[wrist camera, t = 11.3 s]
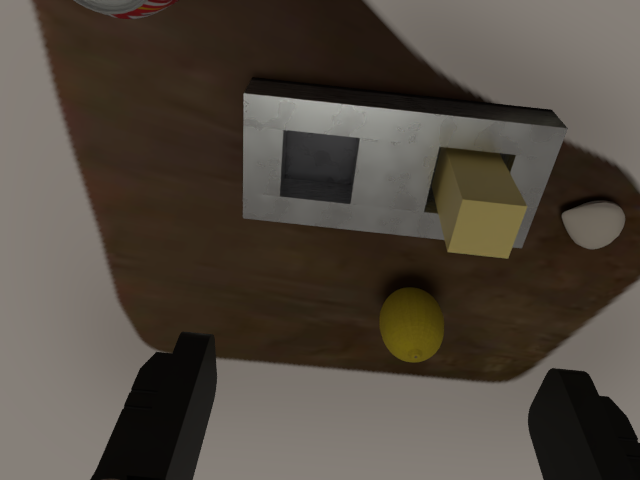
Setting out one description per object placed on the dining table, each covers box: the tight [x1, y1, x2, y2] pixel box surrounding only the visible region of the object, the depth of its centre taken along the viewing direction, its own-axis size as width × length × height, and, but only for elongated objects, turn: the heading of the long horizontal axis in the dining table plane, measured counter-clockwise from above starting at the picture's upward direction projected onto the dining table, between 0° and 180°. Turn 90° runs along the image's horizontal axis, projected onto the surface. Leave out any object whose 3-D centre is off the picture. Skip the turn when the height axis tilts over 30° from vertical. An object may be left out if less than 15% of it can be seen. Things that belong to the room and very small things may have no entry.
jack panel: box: [243, 77, 568, 248], centre depth 39 cm, size 10×22×4 cm, turn 85°
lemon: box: [379, 287, 444, 362], centre depth 45 cm, size 6×6×8 cm
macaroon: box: [562, 200, 625, 249], centre depth 42 cm, size 4×5×2 cm
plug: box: [432, 147, 527, 259], centre depth 37 cm, size 5×4×9 cm
